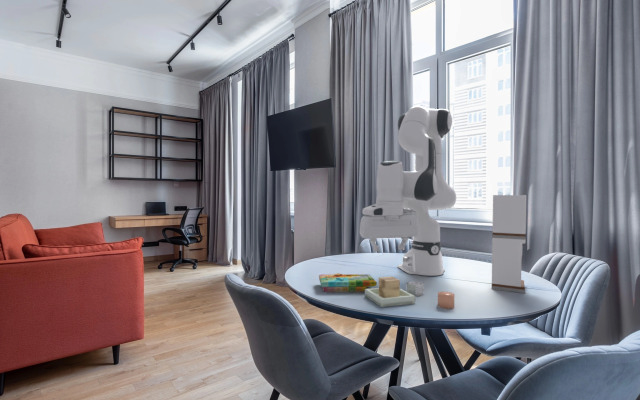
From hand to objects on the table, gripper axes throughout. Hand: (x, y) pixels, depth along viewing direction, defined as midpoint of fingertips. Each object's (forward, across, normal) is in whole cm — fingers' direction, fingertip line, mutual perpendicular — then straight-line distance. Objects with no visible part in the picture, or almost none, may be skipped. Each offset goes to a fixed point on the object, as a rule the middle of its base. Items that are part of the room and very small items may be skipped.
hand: (388, 250), depth 116 cm
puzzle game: (+17, +8, -17) cm, 25 cm away
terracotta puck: (+16, -14, +12) cm, 24 cm away
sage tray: (+16, 0, +1) cm, 16 cm away
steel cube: (+17, -12, -2) cm, 21 cm away
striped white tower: (+17, -51, 0) cm, 54 cm away
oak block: (+15, 0, +1) cm, 15 cm away
